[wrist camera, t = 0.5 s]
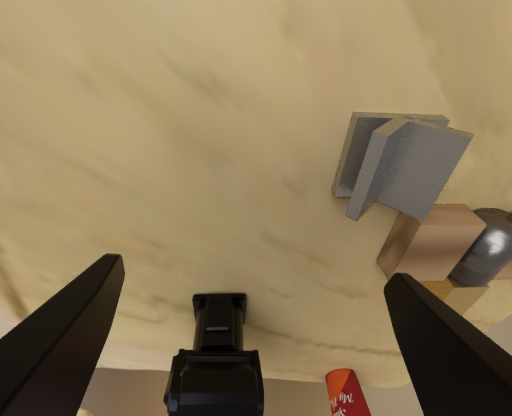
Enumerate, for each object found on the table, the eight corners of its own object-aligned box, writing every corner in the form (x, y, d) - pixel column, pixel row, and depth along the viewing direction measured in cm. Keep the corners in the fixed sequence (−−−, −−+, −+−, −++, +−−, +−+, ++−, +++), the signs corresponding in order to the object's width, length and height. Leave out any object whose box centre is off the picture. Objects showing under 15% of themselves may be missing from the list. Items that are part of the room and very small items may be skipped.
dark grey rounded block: (469, 254, 31) (498, 286, 28) (434, 255, 31) (459, 287, 28) (507, 207, 27) (547, 238, 24) (466, 207, 27) (501, 238, 23)
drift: (436, 293, 36) (455, 321, 33) (408, 293, 36) (425, 322, 33) (464, 258, 32) (489, 287, 29) (432, 258, 32) (454, 287, 28)
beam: (521, 258, 32) (543, 278, 30) (376, 259, 31) (388, 281, 28) (573, 205, 27) (605, 224, 25) (404, 203, 26) (421, 224, 23)
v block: (405, 191, 25) (432, 221, 21) (331, 190, 24) (347, 221, 21) (441, 115, 21) (482, 138, 17) (353, 112, 20) (377, 135, 17)
